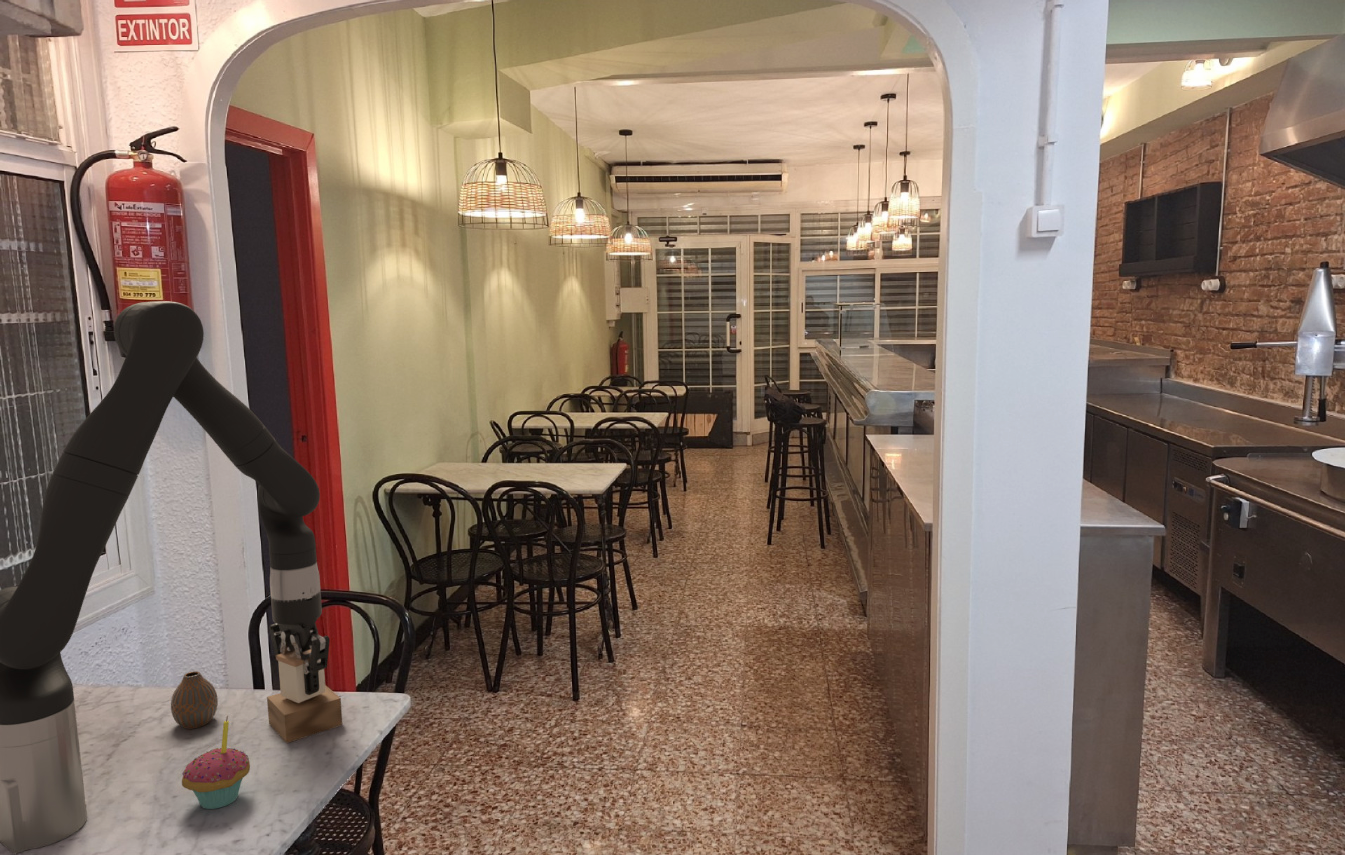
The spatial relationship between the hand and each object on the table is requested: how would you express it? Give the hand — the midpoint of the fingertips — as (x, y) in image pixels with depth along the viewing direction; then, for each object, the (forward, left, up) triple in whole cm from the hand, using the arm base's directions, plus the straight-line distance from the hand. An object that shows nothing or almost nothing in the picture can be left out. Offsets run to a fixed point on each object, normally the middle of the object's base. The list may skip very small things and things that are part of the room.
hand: (302, 688), depth 144 cm
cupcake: (-20, -11, -7) cm, 24 cm away
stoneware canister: (0, 0, -1) cm, 1 cm away
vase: (-10, +16, -7) cm, 20 cm away
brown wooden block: (0, 0, -7) cm, 7 cm away
